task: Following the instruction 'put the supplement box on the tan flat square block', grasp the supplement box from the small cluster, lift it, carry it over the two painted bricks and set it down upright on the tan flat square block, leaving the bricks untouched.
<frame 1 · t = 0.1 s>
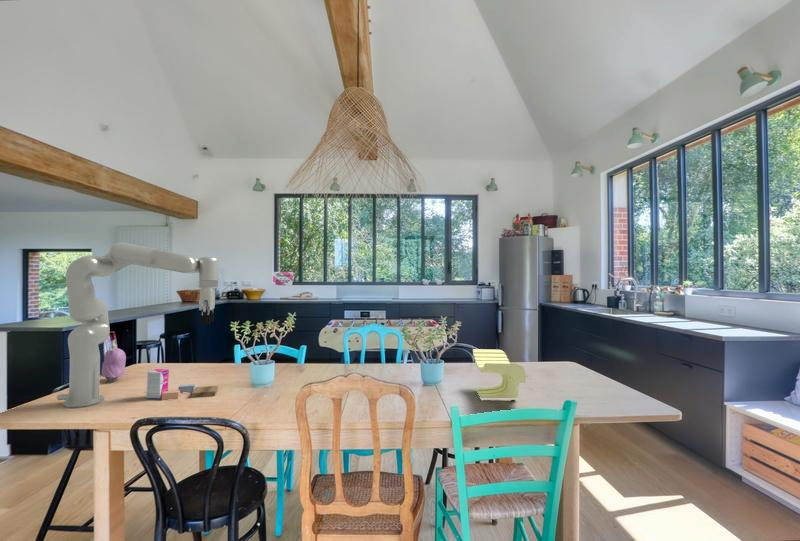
hand: (207, 323, 167), 31 cm above the table, fingers open, 9 cm apart
tan flat square block: (205, 395, 166), on the table
terracotta brick: (171, 399, 159), on the table
supplement box: (157, 397, 161), on the table
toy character: (112, 381, 185), on the table
slate brick: (186, 392, 169), on the table
slatted curved stool: (496, 396, 165), on the table
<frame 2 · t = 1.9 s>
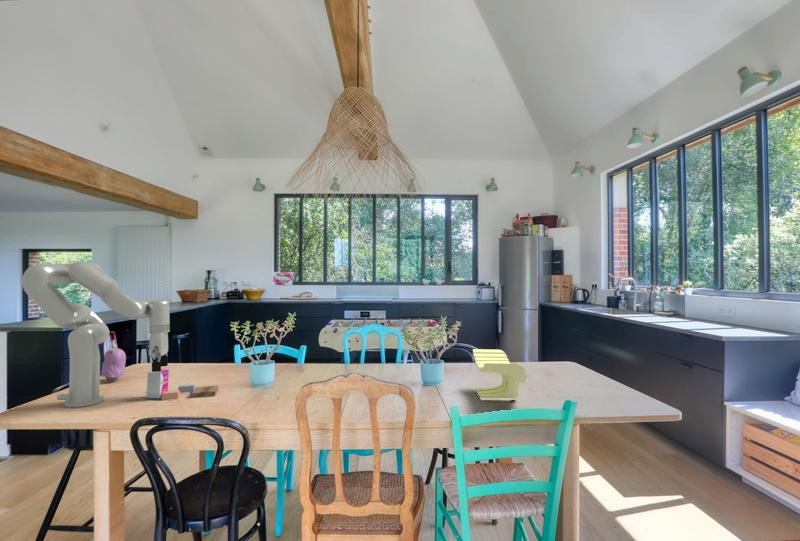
hand: (160, 368, 161), 12 cm above the table, fingers open, 9 cm apart
nothing on the table moved.
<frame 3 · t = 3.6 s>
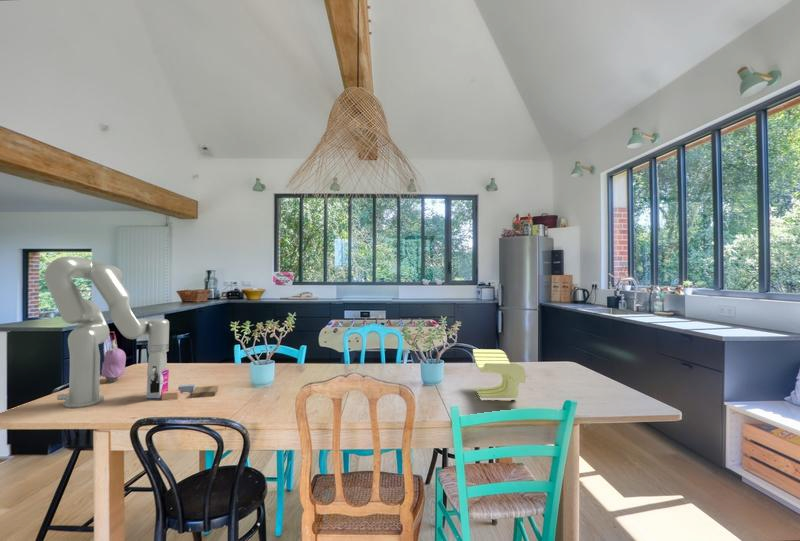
hand: (157, 389, 161), 3 cm above the table, fingers closed on supplement box, 7 cm apart
supplement box: (157, 397, 161), on the table, touching gripper
everything else where it was.
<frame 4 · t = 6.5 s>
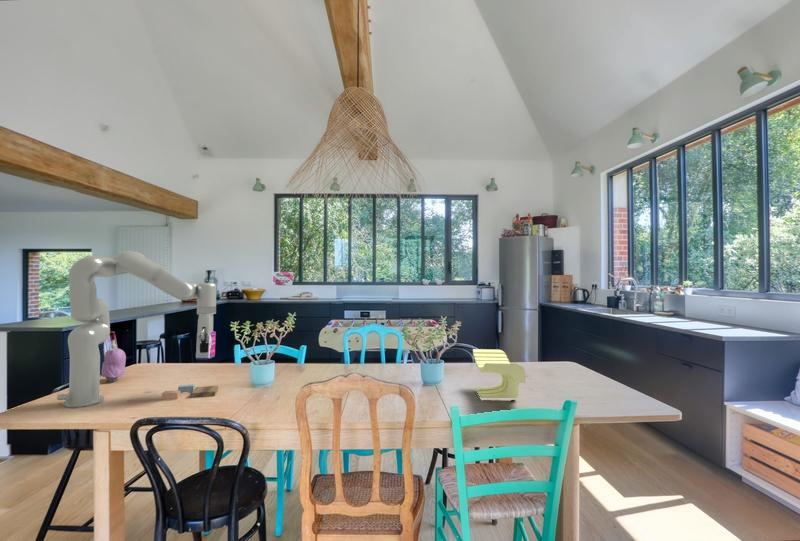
hand: (205, 350, 166), 19 cm above the table, fingers closed on supplement box, 7 cm apart
supplement box: (205, 358, 166), point 16 cm above the table, touching gripper
everything else where it was.
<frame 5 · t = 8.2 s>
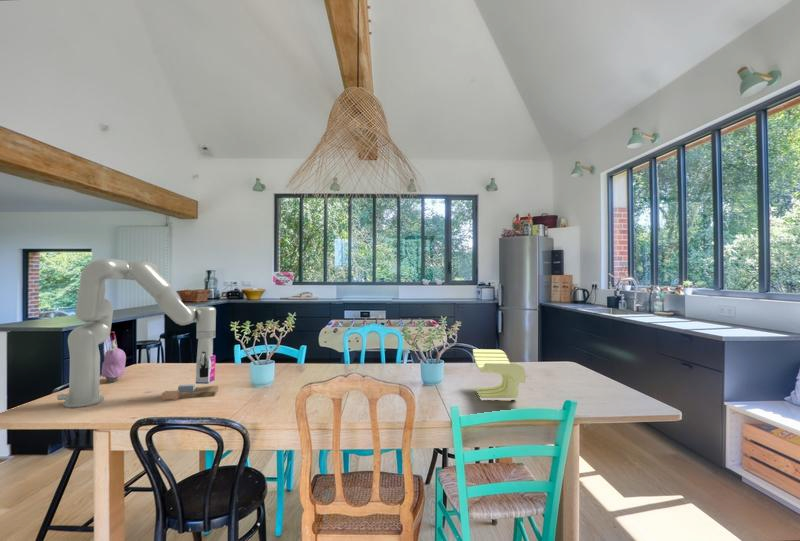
hand: (205, 374, 166), 8 cm above the table, fingers closed on supplement box, 7 cm apart
supplement box: (205, 382, 166), point 5 cm above the table, touching gripper
everything else where it was.
when the fingers open (7 cm above the table, at t = 9.6 s): supplement box drops 1 cm, point 2 cm above the table.
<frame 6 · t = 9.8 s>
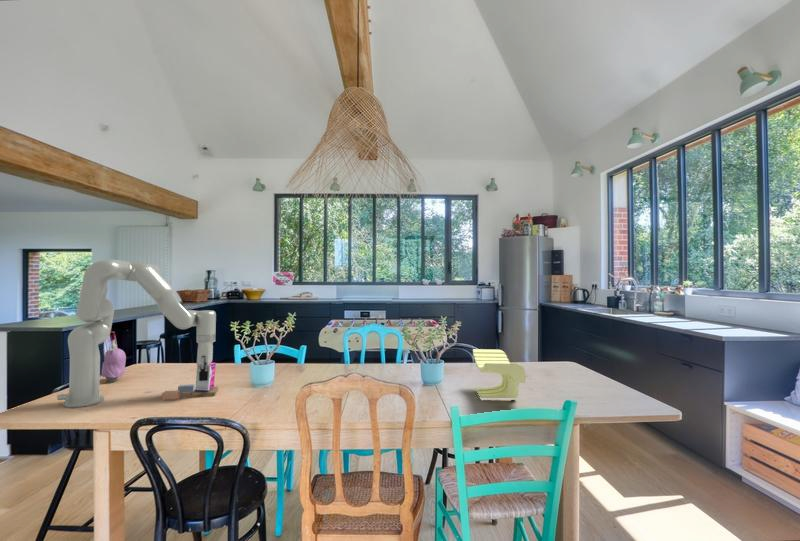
hand: (205, 377, 166), 7 cm above the table, fingers open, 8 cm apart
supplement box: (204, 390, 166), point 2 cm above the table
everything else where it was.
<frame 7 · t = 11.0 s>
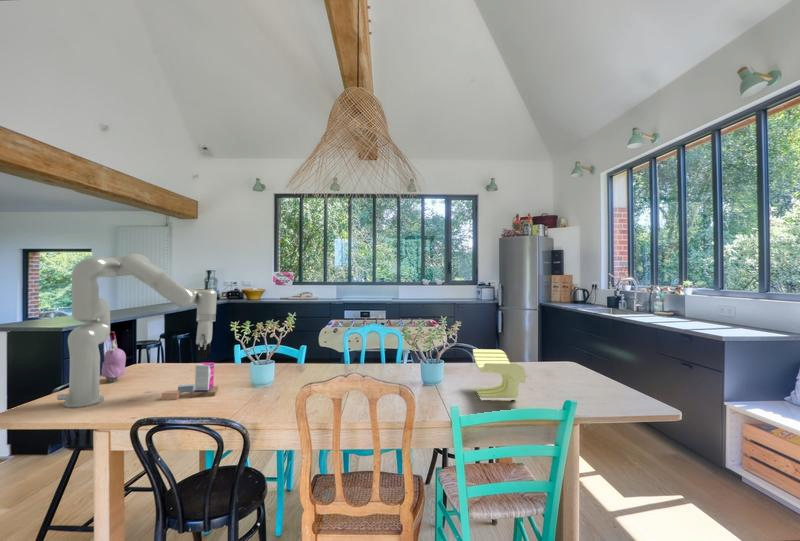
hand: (204, 356, 166), 16 cm above the table, fingers open, 9 cm apart
tan flat square block: (205, 395, 166), on the table, touching supplement box
supplement box: (204, 390, 166), point 2 cm above the table, touching tan flat square block
everything else where it was.
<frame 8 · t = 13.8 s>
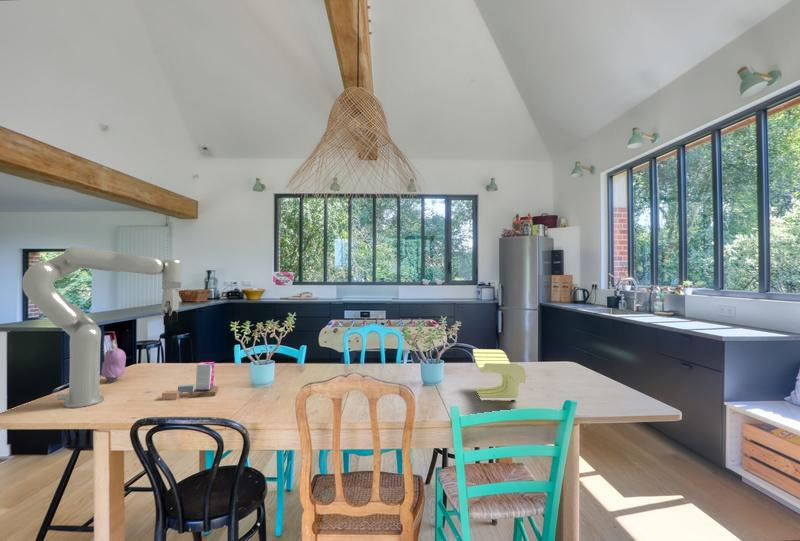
hand: (170, 323, 172), 30 cm above the table, fingers open, 9 cm apart
tan flat square block: (205, 395, 166), on the table
supplement box: (204, 389, 166), point 2 cm above the table
everything else where it was.
at the end: supplement box 0.4 cm off-centre on the tan flat square block, point 2.5 cm above the tan flat square block's base; terracotta brick moved 0.2 cm from its start; slate brick moved 0.4 cm from its start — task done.
